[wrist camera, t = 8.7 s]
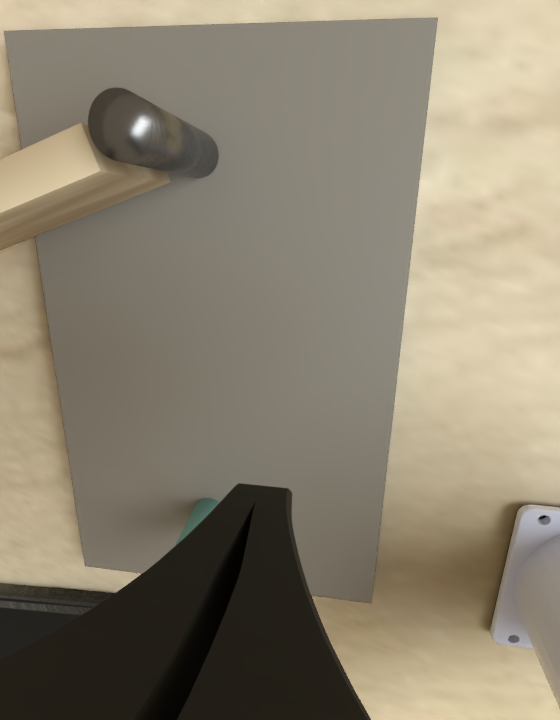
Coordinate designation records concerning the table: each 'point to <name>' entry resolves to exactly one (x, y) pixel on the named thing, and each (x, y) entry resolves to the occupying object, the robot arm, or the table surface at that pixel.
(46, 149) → the gate
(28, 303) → the table surface
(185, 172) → the hinge post
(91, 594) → the phone
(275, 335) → the gate board
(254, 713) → the robot arm
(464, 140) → the table surface
